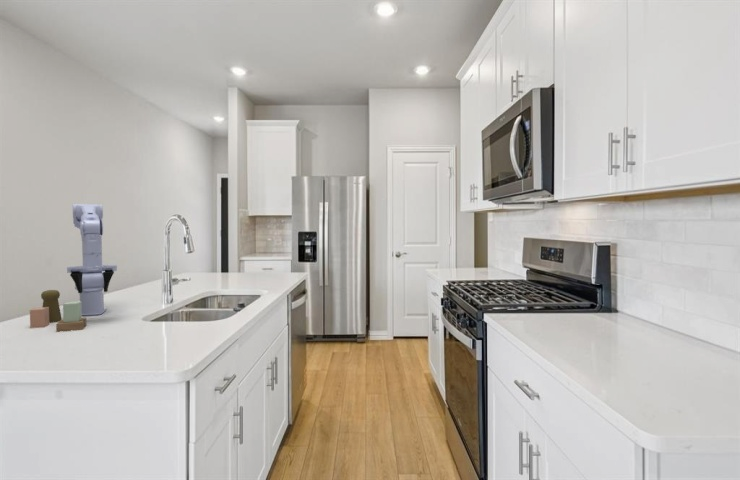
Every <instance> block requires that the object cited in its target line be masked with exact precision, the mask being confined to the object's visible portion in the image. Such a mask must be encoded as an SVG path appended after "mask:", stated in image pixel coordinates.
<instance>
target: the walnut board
mask: <svg viewBox="0 0 740 480" xmlns="http://www.w3.org/2000/svg"><path fill="white" fill-rule="evenodd" d="M55 326H56V327H55V328H56V329H55V330H56V333H61V332H60V331H63V332H71V330H73V331H81V330H84V329H85V328H86V326H87V317H81V320H79V321H78V322H63V318H62V320H60V321H59V322H56V325H55ZM84 327H85V328H84Z"/></svg>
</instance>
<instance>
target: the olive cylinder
mask: <svg viewBox="0 0 740 480" xmlns="http://www.w3.org/2000/svg"><path fill="white" fill-rule="evenodd" d="M60 295H61V293H60V292H59V290H58V289H57V290H56V289H49V290H44V291H42V292H41V296H40V297H41V299H42V307H49V324H52V323H58V322H59V321H60V320H62V319H63V317H62V313H61V307H60V303H59V298H60Z"/></svg>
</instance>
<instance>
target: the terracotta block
mask: <svg viewBox="0 0 740 480" xmlns="http://www.w3.org/2000/svg"><path fill="white" fill-rule="evenodd" d="M29 324H30V325H29V328H30V329H36V328H37V329H38V328H46V327H48V326H49V325H50V323H49V307H43V306H41V307H34V308H31V309H29Z"/></svg>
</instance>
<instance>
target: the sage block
mask: <svg viewBox="0 0 740 480" xmlns="http://www.w3.org/2000/svg"><path fill="white" fill-rule="evenodd" d="M81 318H82V316H81V301H80V300H78V301H66V302H65V303H63V304H62V319H63V322H78V321H79V320H81Z"/></svg>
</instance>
